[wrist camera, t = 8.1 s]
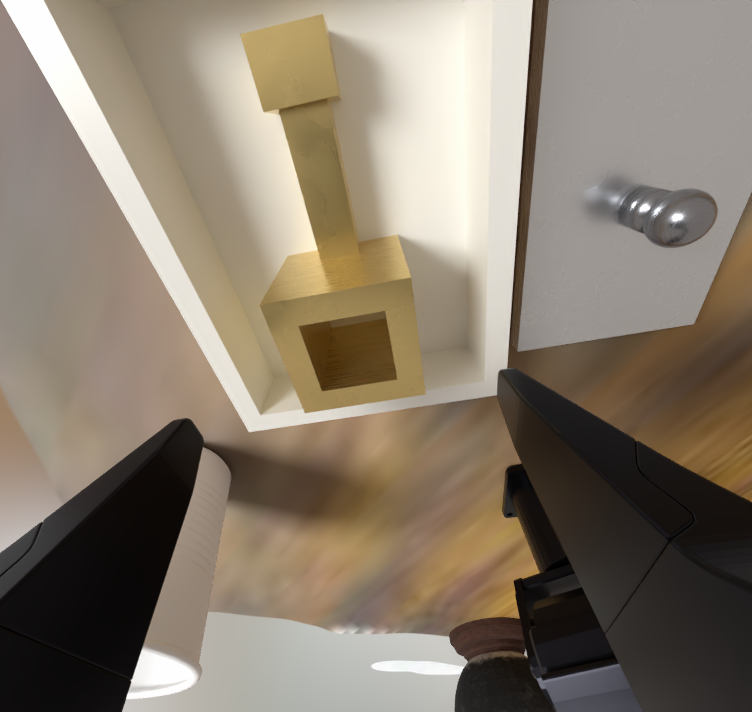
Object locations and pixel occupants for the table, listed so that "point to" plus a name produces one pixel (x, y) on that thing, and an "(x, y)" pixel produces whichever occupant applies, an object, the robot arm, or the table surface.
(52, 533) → the robot arm
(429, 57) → the bin
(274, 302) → the strut
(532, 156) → the stud plate
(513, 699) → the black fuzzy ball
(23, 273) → the table surface
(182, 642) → the cup
